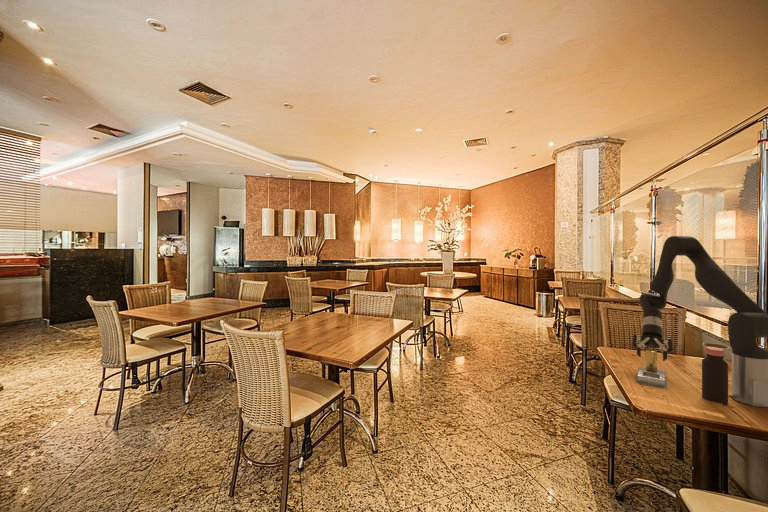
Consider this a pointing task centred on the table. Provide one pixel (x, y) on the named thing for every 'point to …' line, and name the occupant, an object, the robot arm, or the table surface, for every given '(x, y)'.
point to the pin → (651, 361)
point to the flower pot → (717, 347)
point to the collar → (651, 378)
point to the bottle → (715, 376)
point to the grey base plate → (652, 384)
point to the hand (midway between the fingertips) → (651, 357)
